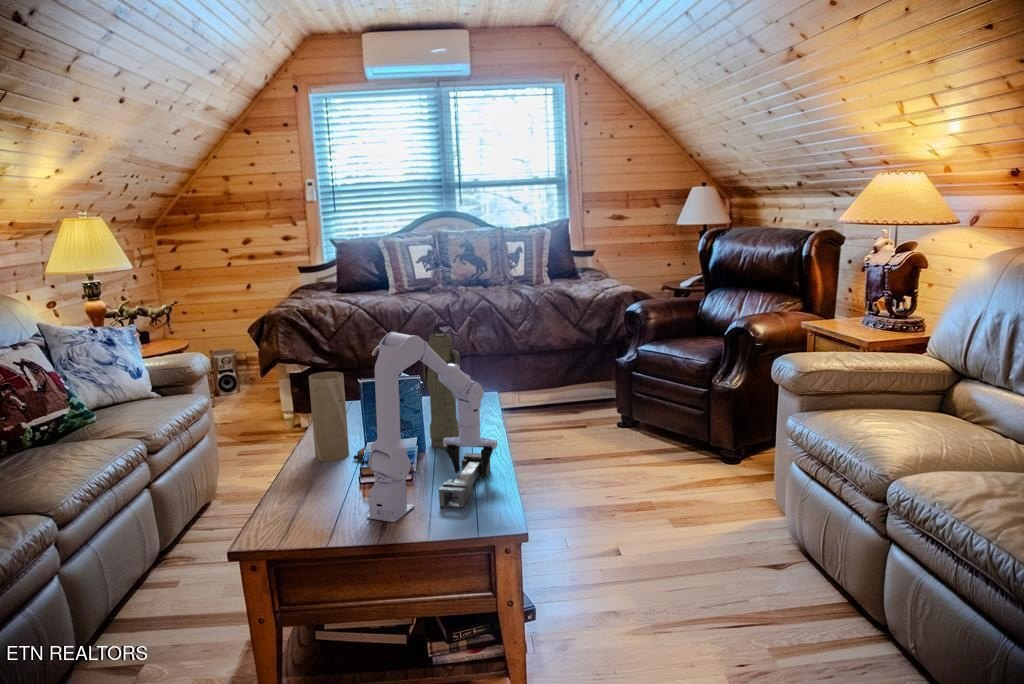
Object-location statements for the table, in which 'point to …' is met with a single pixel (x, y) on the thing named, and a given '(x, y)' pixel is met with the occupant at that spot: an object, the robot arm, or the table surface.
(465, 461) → the socket
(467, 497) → the sleeve
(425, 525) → the table surface
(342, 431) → the tube
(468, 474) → the rod
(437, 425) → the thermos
